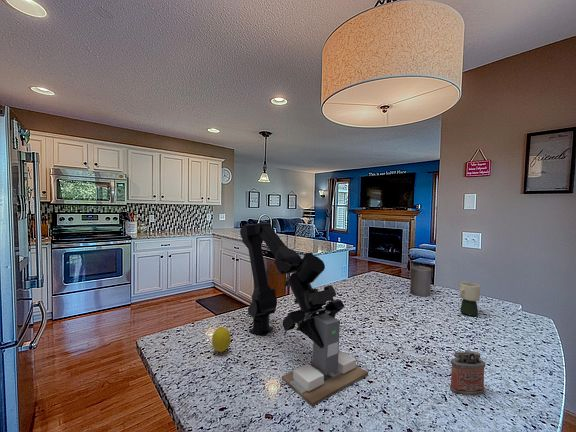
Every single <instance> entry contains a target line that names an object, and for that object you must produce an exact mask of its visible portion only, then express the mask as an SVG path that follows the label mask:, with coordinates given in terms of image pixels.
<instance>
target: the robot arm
mask: <svg viewBox="0 0 576 432" xmlns="http://www.w3.org/2000/svg"><path fill="white" fill-rule="evenodd" d="M239 233H240V237H241V241H242V243H243V244H244V245H245V247H246V248H247V250H248V254H249V255H248V256H249V260H250V266H251V273H252V278H253V283H254V284H253V285H254V290H253V292H252V295H251V301H252V302H251V303H250V304H249V306H248V307H247V313H248V315H249V317H252V318H253V320H252V328H251V329H250V330H249V333H251V334H255V335H260V336H263V337H264V336H267V335H268V334H269V333H271V331H273V329H274V326H270V315H272V314H275V313H276V310H277V305H278V298H277V295H276V289H275V288H272V287H271V286H270V285H269V281H268V277H267V270H266V263H265V260H264V253H263V249H262V246H263V242H264V243H265V245H266V246H267V248H268V249H269V251H270V252H271V254H272V255H273V256H274V265H275V267H276V269H277V271H278V273H280V275H288V274H290V276H286V278H285V282H284V286H285V287H290V290H291V292H292V293H293V296H294V298H295V299H294V300H293V302H294V304H295V305H298V307H299V308H300V309H298V310H294V311H289V313H288V314H286V316H285V317H284V319H283V320H282V328H283V330H284V331H285V332H287V331H291V330H294V329H295V327H296V325H297V328H296V329H295V330H296V331H298V332H299V331H300V333H302V334H304V335H305V336H306V337H308V338H309V339H310V340H311V341H312V342H315V343H316V344H317V345H318V346H319V347H320V348H323V347H324V345H323V342H322V339H321V337H320V335H319V333H318V331H317V329H316V327H315V318H314V317H318V316H321V315H325V314H328V315H330V316H332V317H334V318H336V315H338V313H340V312H341V311H342V310H343V309H344V308H345V304H344V302H343V300H341V299H337V298H336V299H334V298H335V297H336V296H337V293H336V289H335V288H334V286H333V285H332V284H330V285H326V286H324V287H323V290H318V289H317V288H316V287H315V288H313V286H312V283H314V282H315V280H317V279H318V277H319V276H320V275H321V274H323V272H324V271H325V268H326V267H325V266H326V265H325V263H324V261H323V260H322V259H321V258H320V257H318V256H316V255H314V254H313V252H306V253H305V254H304V256H303V257H302V256H301V255H300V254H299V253H297V252H296V251H295V250H294V249H291V248H289V247H288V246H287V245H286V244H285V243H284V242H283V240H282V239H281V237H280V236H279V235H278V233H276V231H275V230H274V229H273V226H272V224H271V223H270V222H258V223H250V224H249V223H248V224H243V225H242V226H241V228H240V231H239ZM327 302H328V303H327Z"/></svg>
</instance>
